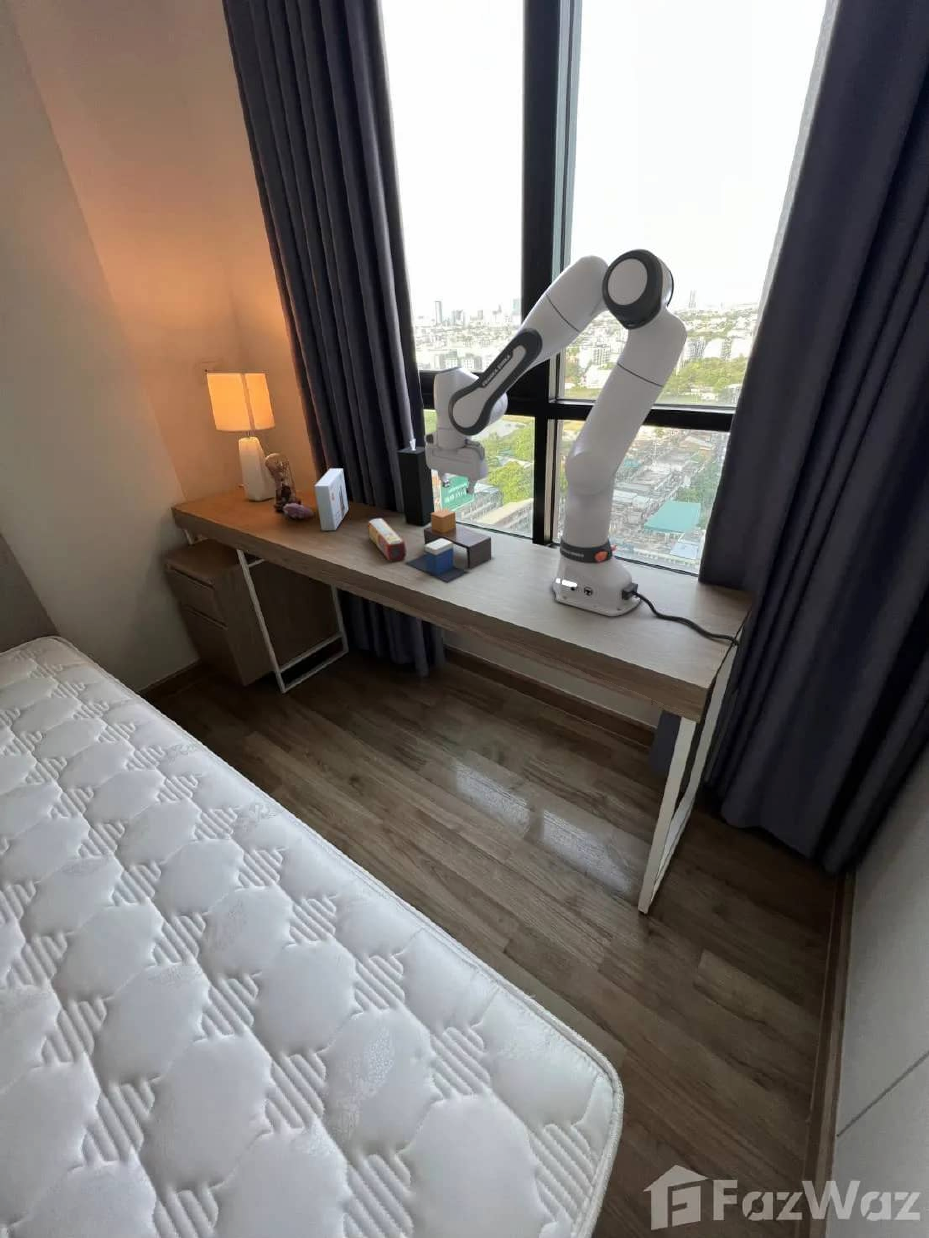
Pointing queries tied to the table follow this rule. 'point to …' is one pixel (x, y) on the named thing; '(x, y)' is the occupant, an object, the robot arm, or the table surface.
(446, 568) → the dark blue box
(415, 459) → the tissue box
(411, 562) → the felt pad
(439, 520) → the ochre box
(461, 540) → the desk shelf
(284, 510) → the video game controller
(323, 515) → the skincare box
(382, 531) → the snack package
